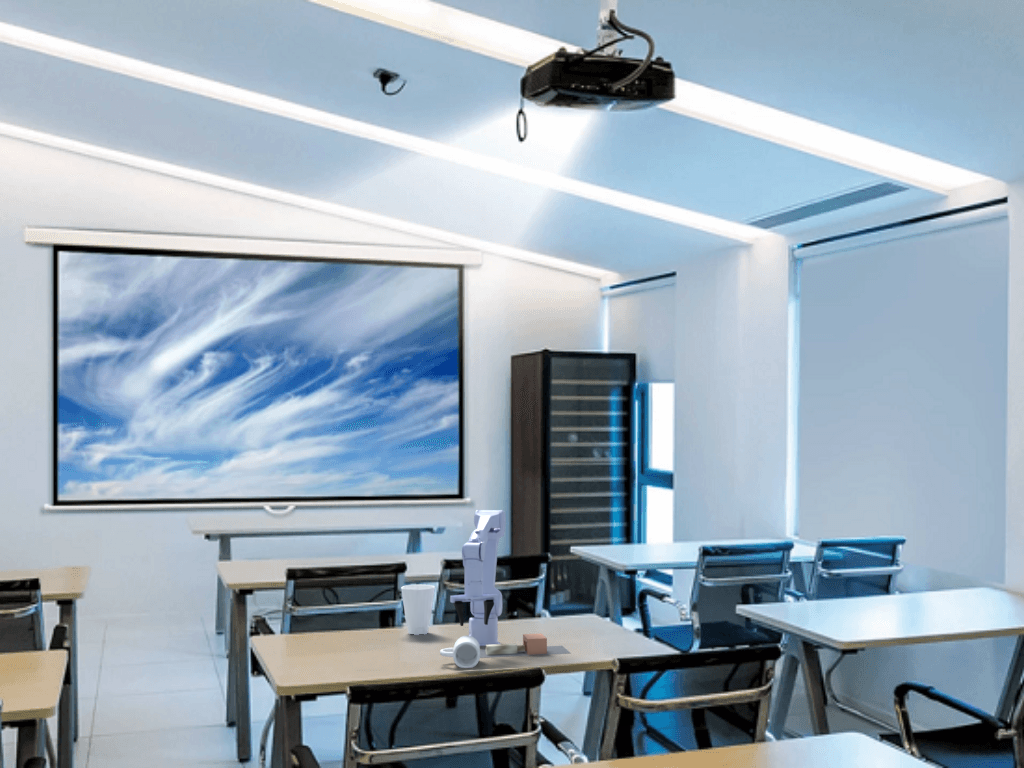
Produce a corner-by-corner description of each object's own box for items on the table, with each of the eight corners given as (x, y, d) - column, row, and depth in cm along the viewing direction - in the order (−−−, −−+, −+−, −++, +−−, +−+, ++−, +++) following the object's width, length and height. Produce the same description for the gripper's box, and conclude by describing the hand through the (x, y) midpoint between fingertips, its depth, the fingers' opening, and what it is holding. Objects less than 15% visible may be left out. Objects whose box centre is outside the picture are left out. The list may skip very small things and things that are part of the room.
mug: (480, 661, 320) (479, 635, 320) (480, 669, 310) (479, 641, 310) (440, 662, 320) (440, 635, 320) (439, 669, 310) (439, 642, 310)
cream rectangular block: (487, 654, 327) (486, 646, 327) (485, 653, 330) (485, 644, 330) (525, 652, 330) (525, 644, 330) (523, 651, 332) (523, 642, 332)
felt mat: (469, 659, 323) (469, 658, 323) (464, 651, 334) (464, 650, 334) (571, 654, 329) (571, 653, 329) (562, 646, 340) (562, 645, 340)
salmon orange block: (528, 654, 327) (528, 639, 327) (523, 649, 335) (522, 634, 335) (547, 653, 328) (546, 638, 328) (541, 648, 336) (541, 633, 336)
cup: (398, 631, 370) (397, 585, 370) (431, 629, 373) (430, 583, 374) (404, 637, 358) (404, 590, 359) (438, 635, 362) (438, 588, 363)
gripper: (452, 583, 324) (453, 628, 323) (498, 581, 327) (499, 625, 326) (449, 580, 331) (449, 624, 330) (494, 578, 334) (494, 622, 333)
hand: (473, 624), depth 329 cm, fingers open, 7 cm apart
